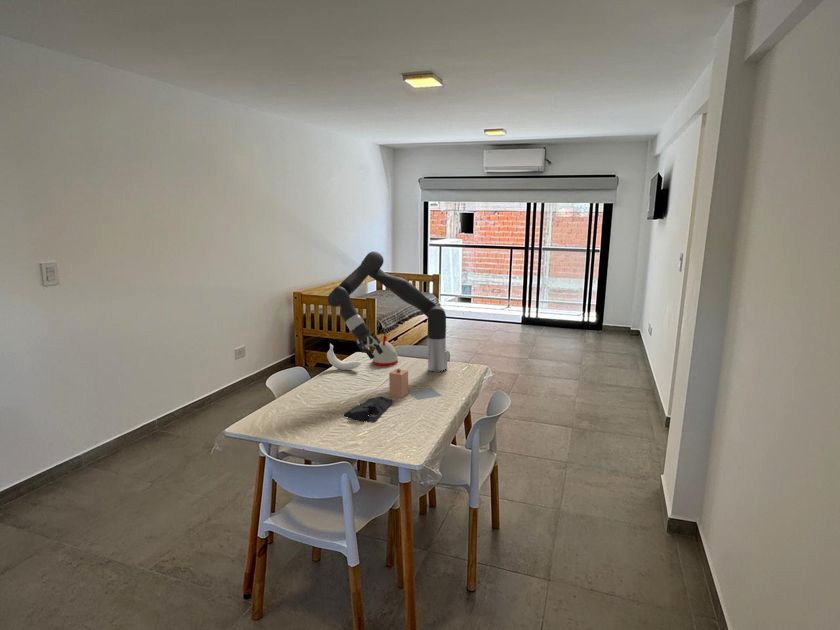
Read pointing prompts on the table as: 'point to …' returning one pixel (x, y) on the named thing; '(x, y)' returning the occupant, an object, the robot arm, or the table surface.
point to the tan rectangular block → (398, 382)
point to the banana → (341, 364)
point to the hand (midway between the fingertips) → (377, 355)
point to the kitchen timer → (385, 354)
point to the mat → (424, 393)
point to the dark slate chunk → (369, 409)
